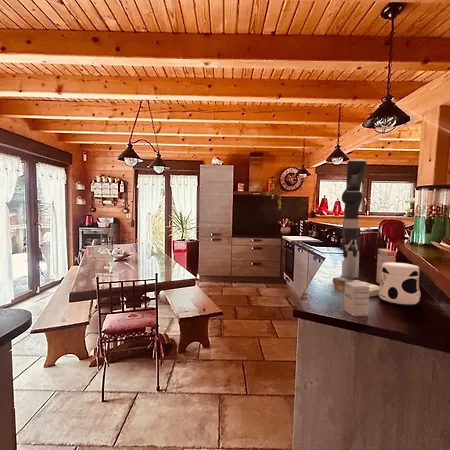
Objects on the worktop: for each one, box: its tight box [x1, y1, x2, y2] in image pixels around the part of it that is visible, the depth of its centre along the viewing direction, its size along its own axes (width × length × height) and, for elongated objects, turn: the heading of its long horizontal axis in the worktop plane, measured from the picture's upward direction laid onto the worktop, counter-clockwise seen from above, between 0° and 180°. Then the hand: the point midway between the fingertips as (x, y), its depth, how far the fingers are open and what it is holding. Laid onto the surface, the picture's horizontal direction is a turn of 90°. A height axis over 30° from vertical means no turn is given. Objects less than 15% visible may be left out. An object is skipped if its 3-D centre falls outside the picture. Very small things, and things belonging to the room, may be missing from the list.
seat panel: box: [333, 279, 380, 298], centre depth 163 cm, size 19×18×3 cm
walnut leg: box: [332, 276, 354, 287], centre depth 159 cm, size 16×4×3 cm, turn 25°
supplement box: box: [343, 282, 370, 317], centre depth 128 cm, size 7×7×13 cm
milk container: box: [378, 262, 422, 307], centre depth 143 cm, size 17×17×18 cm
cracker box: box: [375, 248, 397, 286], centre depth 175 cm, size 14×6×21 cm, turn 168°
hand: (349, 256), depth 167 cm, fingers open, 6 cm apart
